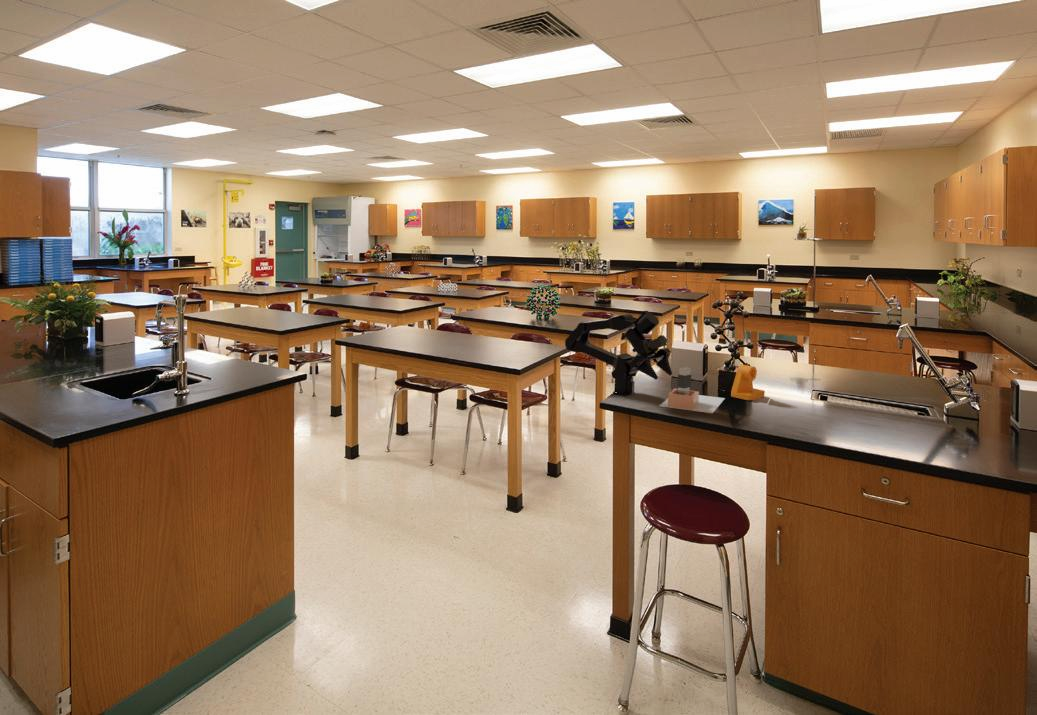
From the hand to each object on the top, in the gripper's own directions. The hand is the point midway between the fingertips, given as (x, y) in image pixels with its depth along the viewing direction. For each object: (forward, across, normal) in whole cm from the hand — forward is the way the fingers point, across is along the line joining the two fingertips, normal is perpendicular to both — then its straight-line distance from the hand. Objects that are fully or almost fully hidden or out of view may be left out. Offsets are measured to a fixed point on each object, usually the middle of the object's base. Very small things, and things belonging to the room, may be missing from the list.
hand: (664, 376), depth 209 cm
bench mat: (+12, +6, +1) cm, 14 cm away
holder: (+12, 0, +1) cm, 12 cm away
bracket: (+20, +27, -6) cm, 34 cm away
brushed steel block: (+11, 0, 0) cm, 11 cm away
